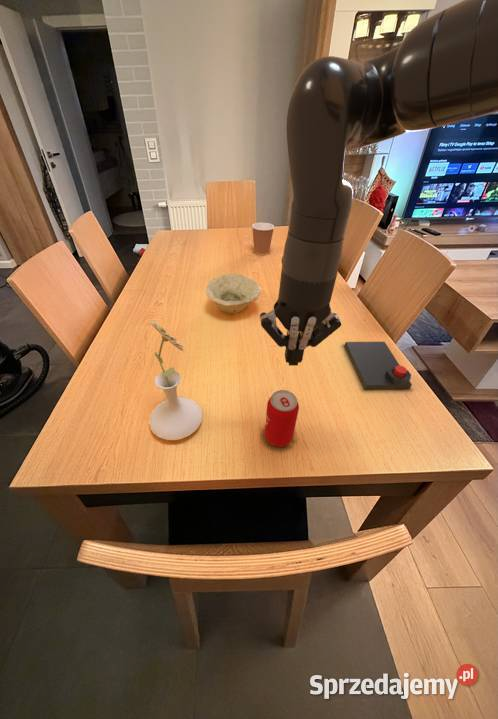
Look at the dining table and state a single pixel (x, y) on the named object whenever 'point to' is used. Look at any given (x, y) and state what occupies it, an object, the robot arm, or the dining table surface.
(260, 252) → the coffee cup
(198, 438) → the dining table surface
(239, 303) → the bowl
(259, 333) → the dining table surface
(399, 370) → the button
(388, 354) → the grey plate red button
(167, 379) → the flower in vase
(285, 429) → the beverage can
